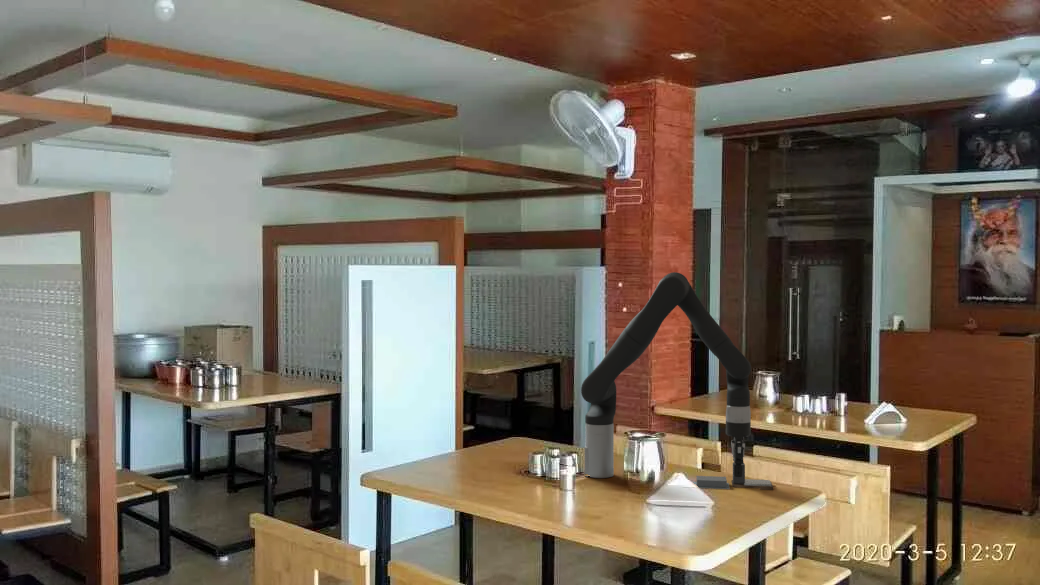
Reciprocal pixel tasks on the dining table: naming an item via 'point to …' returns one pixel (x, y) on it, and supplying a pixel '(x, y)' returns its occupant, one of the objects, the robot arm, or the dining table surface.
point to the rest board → (752, 486)
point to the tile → (711, 481)
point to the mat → (714, 487)
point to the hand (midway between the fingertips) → (737, 475)
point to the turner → (748, 481)
